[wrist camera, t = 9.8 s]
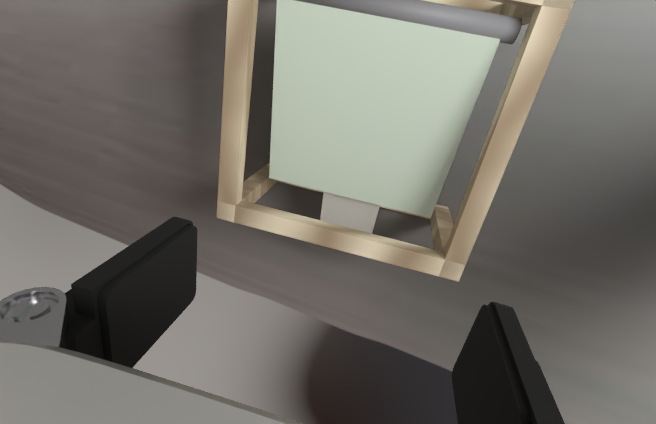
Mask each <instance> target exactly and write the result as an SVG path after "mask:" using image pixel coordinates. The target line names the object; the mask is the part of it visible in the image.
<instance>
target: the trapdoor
mask: <svg viewBox="0 0 656 424" xmlns="http://www.w3.org/2000/svg"><path fill="white" fill-rule="evenodd" d="M521 25H522V18H517V17H512V16H506V15H501V14H495V13H490V12H484V11H479V10H473V9H467V8H462V7H456V6H451V5H445V4H440V3H434V2H429V1H423V0H277V9H276V32H275V54H274V77H273V100H272V123H271V146H270V169H269V178H271V179H275V180H279V181H283V182H287V183H291V184H295V185H299V186H303V187H307V188H311V189H315V190H319V191H323V192H328V193H332V194H336V195H340V196H344V197H348V198H352V199H356V200H360V201H364V202H368V203H372V204H376V205H380V206H384V207H388V208H392V209H396V210H400V211H404V212H409V213H413V214H417V215H421V216H425V217H429V218H431V216H432V213H433V210H434V208H435V205H436V203H437V200H438V198H439V195H440V193H441V190H442V188H443V185H444V182H445V180H446V177H447V175H448V172H449V170H450V167H451V165H452V162H453V159H454V157H455V154H456V152H457V149H458V147H459V144H460V142H461V139H462V136H463V134H464V131H465V129H466V126H467V124H468V121H469V119H470V116H471V114H472V111H473V108H474V106H475V103H476V101H477V98H478V96H479V93H480V91H481V88H482V85H483V83H484V80H485V78H486V75H487V73H488V70H489V68H490V65H491V62H492V60H493V57H494V55H495V52H496V50H497V47H498V45H499V42H502V43H507V44H513V43H514V42H515V40H516V38H517V36H518V34H519V32H520V29H521Z"/></svg>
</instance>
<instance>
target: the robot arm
mask: <svg viewBox="0 0 656 424" xmlns="http://www.w3.org/2000/svg"><path fill="white" fill-rule="evenodd" d="M196 265H197V228H196V227H195V226H193V222H192V221H190V220H186V219H182V218H178V217H172V218H171V219H169V220H168V221H166V222H165V223H163V224H162V225H160V226H159V227H157V228H156V229H154V230H153V231H151V232H150V233H148V234H146V235H145V236H143V237H142V238H140V239H139V240H137V241H136V242H134V243H133V244H131V245H130V246H128V247H127V248H125V249H124V250H122V251H121V252H119V253H118V254H116V255H115V256H113V257H112V258H110V259H109V260H107V261H106V262H104V263H103V264H101V265H100V266H98V267H97V268H95V269H94V270H92V271H91V272H89V273H88V274H86V275H85V276H83V277H82V278H80V279H78V280H77V281H75V282H74V283H73V284H72V285H71V287H72V289H71V290H69V291H68V292H66V293H65V294H64V293H63V292H62V291H61V290H58V289H55V288H50V287H39V288H32V289H26V290H23V291H20V292H17V293H14V294H12V295H10V296H8V297H6V298H4V299H3V300H1V301H0V424H303V423H300V422H297V421H294V420H290V419H287V418H284V417H281V416H278V415H275V414H272V413H269V412H266V411H263V410H260V409H257V408H254V407H251V406H248V405H245V404H242V403H238V402H235V401H233V400H229V399H226V398H223V397H220V396H217V395H214V394H211V393H208V392H205V391H202V390H199V389H195V388H192V387H189V386H186V385H183V384H180V383H177V382H174V381H171V380H167V379H164V378H161V377H158V376H155V375H152V374H149V373H145V372H142V371H139V370H136V369H133V366H134V365H135V364H136V363H137V362H138V361H139V360H140V359H141V358H142V356H143V355H144V354H145V353H146V352H147V351H148V350H149V348H151V346H152V345H153V344H154V343H155V342H156V341H157V340H158V339H159V337H160V336H161V335H162V334H163V333H164V332H165V331H166V330H167V329H168V328H169V326H170V325H171V324H172V323H173V322H174V321H175V320H176V319H177V318H178V316H179V315H180V314H181V313H182V312H183V311H184V310H185V309H186V308H187V306H188V305H189V304H190V303H191V302H192V301H193V299H194V297H195V293H196ZM452 383H453V390H454V397H455V404H456V412H457V419H458V424H565V423H564V421H563V419H562V416H561V414H560V412H559V409H558V407H557V405H556V402H555V400H554V398H553V396H552V393H551V391H550V389H549V386H548V384H547V382H546V379H545V377H544V375H543V372H542V370H541V368H540V366H539V364H538V362H537V361H535V359H534V356H533V354H532V352H531V349H530V347H529V344H528V342H527V340H526V337H525V335H524V333H523V330H522V328H521V326H520V323H519V321H518V318H517V316H516V314H515V311H514V309H513V308H512V307H510V306H506V305H502V304H498V303H495V302H491V303H490V304H489V305H488V306H487V305H483V306H482V307H481V309H480V311H479V313H478V315H477V318H476V320H475V322H474V324H473V326H472V329H471V331H470V333H469V335H468V337H467V339H466V342H465V344H464V346H463V348H462V350H461V352H460V355H459V357H458V359H457V361H456V363H455V365H454V368H453V372H452Z"/></svg>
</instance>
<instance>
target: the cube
mask: <svg viewBox="0 0 656 424" xmlns="http://www.w3.org/2000/svg"><path fill="white" fill-rule="evenodd" d="M379 207H380V205H376V204H372V203H368V202H364V201H360V200H356V199H352V198H348V197H344V196H340V195H336V194H332V193H328V192H324V194H323V201H322V209H321V217H320V220H321V221H325V222H328V223H332V224H336V225H340V226H344V227H348V228H352V229H356V230H360V231H364V232H367V233H371V234H372V232H373V228H374V225H375V221H376V218H377V214H378V211H379Z"/></svg>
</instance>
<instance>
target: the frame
mask: <svg viewBox="0 0 656 424" xmlns="http://www.w3.org/2000/svg"><path fill="white" fill-rule="evenodd" d="M423 1H429V2H434V3H440V4H445V5H451V6H456V7H462V8H467V9H473V10H479V11H484V12H490V13H495V14H501V15H506V16H512V17H517V18H522V25H525V24H528V23H529V25H528V28H527V30H526V33H525V36H524V38H523V41H522V44H521V46H520V49H519V52H518V54H517V57H516V60H515V62H514V65H513V68H512V70H511V73H510V76H509V78H508V81H507V84H506V86H505V89H504V92H503V94H502V97H501V100H500V102H499V105H498V108H497V110H496V113H495V116H494V118H493V121H492V124H491V126H490V129H489V132H488V134H487V137H486V140H485V142H484V145H483V148H482V150H481V153H480V156H479V158H478V161H477V164H476V166H475V169H474V172H473V174H472V177H471V180H470V182H469V185H468V188H467V190H466V193H465V196H464V198H463V201H462V204H461V206H460V209H459V212H458V214H457V217H456V220H455V222H454V225H453V221H452V218H451V215H450V211H449V208H448V207H447V206H443V205H439V204H436V205H435V208H434V210H433V213H432V216H431V218H429V217H425V216H421V215H417V214H413V213H409V212H404V211H400V210H396V209H392V208H388V207H384V206H380V207H382V208H387V209H391V210H395V211H399V212H403V213H407V214H411V215H415V216H419V217H423V218H427V219H430V224H431V231H432V237H433V243H434V249H430V248H426V247H422V246H418V245H414V244H410V243H406V242H403V241H399V240H395V239H391V238H387V237H383V236H379V235H375V234H371V233H367V232H364V231H360V230H356V229H352V228H348V227H344V226H340V225H336V224H332V223H328V222H325V221H321V220H317V219H313V218H309V217H305V216H301V215H297V214H293V213H289V212H285V211H282V210H278V209H274V208H270V207H266V206H262V205H258V204H254V203H255V202H256V201H257V200H258V199H259V198H260V197H262V196H263V195H264V194H265V193H266V192H267V191H268V190H269V189H270V188H271V187H272V186H273V185H274V184H275V183H276V182H281V183H285V184H289V185H294V186H298V187H302V188H306V189H310V190H314V191H318V192H322V193H324V192H323V191H319V190H315V189H311V188H307V187H303V186H299V185H295V184H291V183H287V182H283V181H279V180H275V179H271V178H269V169H270V163H268V164H267V165H265V166H264V167H263V168H261V169H260V170H259V171H257V172H256V173H255V174H253V175H252V176H251V177H249V178H248V179H247V180H245V181H244V182H243V178H244V166H245V155H246V143H247V131H248V119H249V107H250V95H251V83H252V71H253V60H254V48H255V36H256V24H257V12H258V0H228V11H227V30H226V49H225V68H224V87H223V106H222V125H221V144H220V163H219V183H218V202H217V218H219V219H223V220H227V221H230V222H234V223H238V224H242V225H246V226H249V227H253V228H257V229H261V230H265V231H268V232H272V233H276V234H280V235H283V236H287V237H291V238H295V239H299V240H302V241H306V242H310V243H314V244H318V245H321V246H325V247H329V248H333V249H337V250H340V251H344V252H348V253H352V254H355V255H359V256H363V257H367V258H371V259H374V260H378V261H382V262H386V263H390V264H393V265H397V266H401V267H405V268H409V269H412V270H416V271H420V272H424V273H427V274H431V275H435V276H439V277H443V278H446V279H450V280H454V281H458V282H459V280H460V277H461V275H462V272H463V270H464V268H465V265H466V263H467V260H468V258H469V255H470V253H471V251H472V248H473V246H474V243H475V241H476V239H477V236H478V234H479V231H480V229H481V226H482V224H483V222H484V219H485V217H486V214H487V212H488V210H489V207H490V205H491V202H492V200H493V198H494V195H495V193H496V190H497V188H498V185H499V183H500V181H501V178H502V176H503V173H504V171H505V169H506V166H507V164H508V161H509V159H510V156H511V154H512V152H513V149H514V147H515V144H516V142H517V140H518V137H519V135H520V132H521V130H522V127H523V125H524V123H525V120H526V118H527V115H528V113H529V111H530V108H531V106H532V103H533V101H534V99H535V96H536V94H537V91H538V89H539V86H540V84H541V82H542V79H543V77H544V74H545V72H546V70H547V67H548V65H549V62H550V60H551V57H552V55H553V53H554V50H555V48H556V45H557V43H558V41H559V38H560V36H561V33H562V31H563V28H564V26H565V24H566V21H567V19H568V16H569V14H570V12H571V9H572V7H573V4H574V2H575V0H490V1H488V0H423ZM494 1H496V2H494ZM499 2H501V3H499ZM522 25H521V26H522Z"/></svg>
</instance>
